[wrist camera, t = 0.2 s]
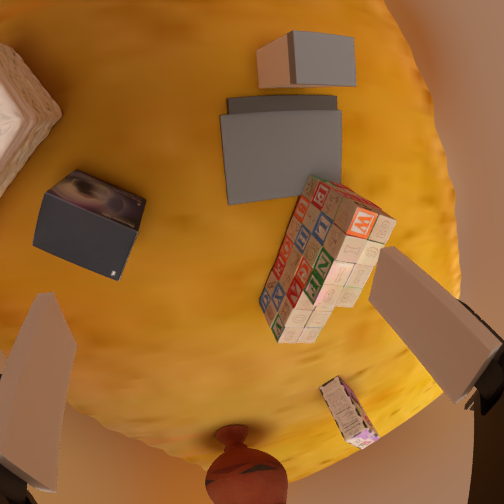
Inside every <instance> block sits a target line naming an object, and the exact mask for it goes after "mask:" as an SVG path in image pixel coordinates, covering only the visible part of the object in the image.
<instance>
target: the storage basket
mask: <svg viewBox="0 0 504 504" xmlns="http://www.w3.org/2000/svg"><path fill="white" fill-rule="evenodd" d="M61 117H62V113H61V109H60V107H59V106H58V104H57V103H56V102H55V101H54V99H52V98H51V96H50V95H49V93H48V92H47V91H46V89H45V88H44V87H43V86H42V85H41V83H40V81H39V80H38V79H37V77H36V76H35V75H34V74H33V73H32V71H31V70H30V68H29V67H28V66H27V65H26V64H25V63H24V61H23V59H22V57H21V56H20V55H19V54H18V53H16V51H15V50H14V49H13V48H12V47H9V46H7V45H5V44H1V42H0V198H1V196H2V195H3V193H4V192H5V190H6V188H7V187H8V186H9V185H10V183H11V182H12V181H13V179H14V178H15V177H16V175H17V173H18V172H19V171H20V170H21V169H22V167H23V166H24V165H25V163H26V162H27V160H28V158H29V156H30V155H31V154H32V153H33V152H34V151H35V149H36V148H37V146H38V145H39V144H40V143H41V142H42V141H43V140H44V139H45V138H46V137H47V136H48V134H49V133H50V130H51V128H52V127H53V126H54V125H55V123H56V122H57V121H58V120H59V119H60V118H61Z"/></svg>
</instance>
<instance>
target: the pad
mask: <svg viewBox="0 0 504 504" xmlns="http://www.w3.org/2000/svg"><path fill="white" fill-rule="evenodd" d="M227 110H228V114H227V115H220V125H221V136H222V147H223V158H224V168H225V179H226V189H227V199H228V205H235V204H242V203H248V202H255V201H262V200H269V199H276V198H284V197H291V196H299V195H302V193H303V190H304V188H305V185H306V182H307V180H308V177H309V175H313V176H316V177H319V178H322V179H325V180H328V181H332V182H335V183H338V184H341V154H342V113H341V110H337V96H328V95H275V96H253V97H238V98H227Z"/></svg>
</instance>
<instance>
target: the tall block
mask: <svg viewBox="0 0 504 504" xmlns="http://www.w3.org/2000/svg"><path fill="white" fill-rule="evenodd" d="M256 57H257V71H258V85H259V88H309V87H356V67H355V50H354V37H347V36H341V35H334V34H326V33H317V32H307V31H294V30H293V31H291V32H289V33H287V34H285V35H283V36H281V37H280V38H278V39H276V40H274V41H272V42H270V43H269V44H267V45H265V46H263V47H262V48H260V49H258V50H256Z"/></svg>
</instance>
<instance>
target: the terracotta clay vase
mask: <svg viewBox="0 0 504 504" xmlns="http://www.w3.org/2000/svg"><path fill="white" fill-rule="evenodd" d="M247 434H248V428H247V427H246V426H243V425H229V426H226V427H223V428H221V429H219V430H218V431H217V432H216V433H215V436H216V438H217V439H218V440H219V441H220V442H222V443H223V444H224V445H226V447H225V449H224V452H225V453H223V454H222V455H220V456H219V457H218V458H217V459H216V460H215V461H214V462H213V463H212V465H211V466H210V468H209V469H208V471H207V475H206V480H205V485H206V490H207V492H208V495H209V496H210V498H211V499H212V501H213V502H214V504H286V498H287V489H288V480H287V474H286V470H285V469H284V467H283V466H282V464H281V463H280V462H279V461H278V460H277V459H276V458H274V457H273V456H271V455H269V454H267V453H265V452H262V451H260V450H256V449H251V448H247V445H245V444H243V442H244V440H245V438H246V436H247Z"/></svg>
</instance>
